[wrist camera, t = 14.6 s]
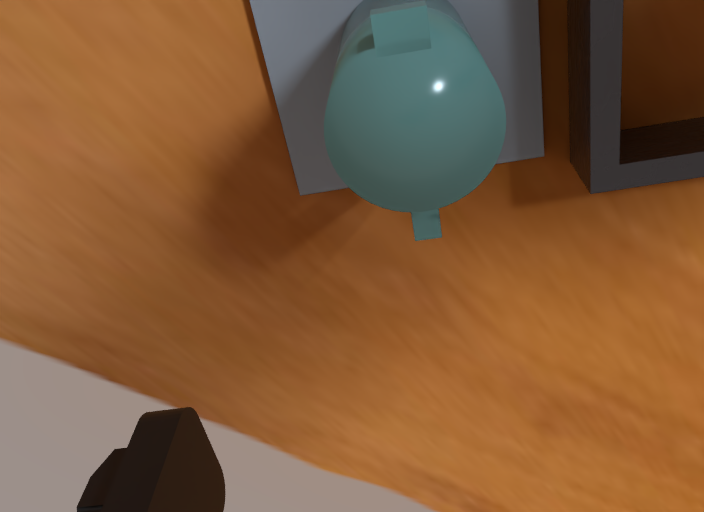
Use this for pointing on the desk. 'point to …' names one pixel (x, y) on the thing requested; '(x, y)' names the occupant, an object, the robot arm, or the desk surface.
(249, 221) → the desk surface
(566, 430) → the desk surface
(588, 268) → the desk surface
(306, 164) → the slate grey mat
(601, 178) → the dark grey rectangular frame
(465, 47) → the glazed jug
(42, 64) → the desk surface
